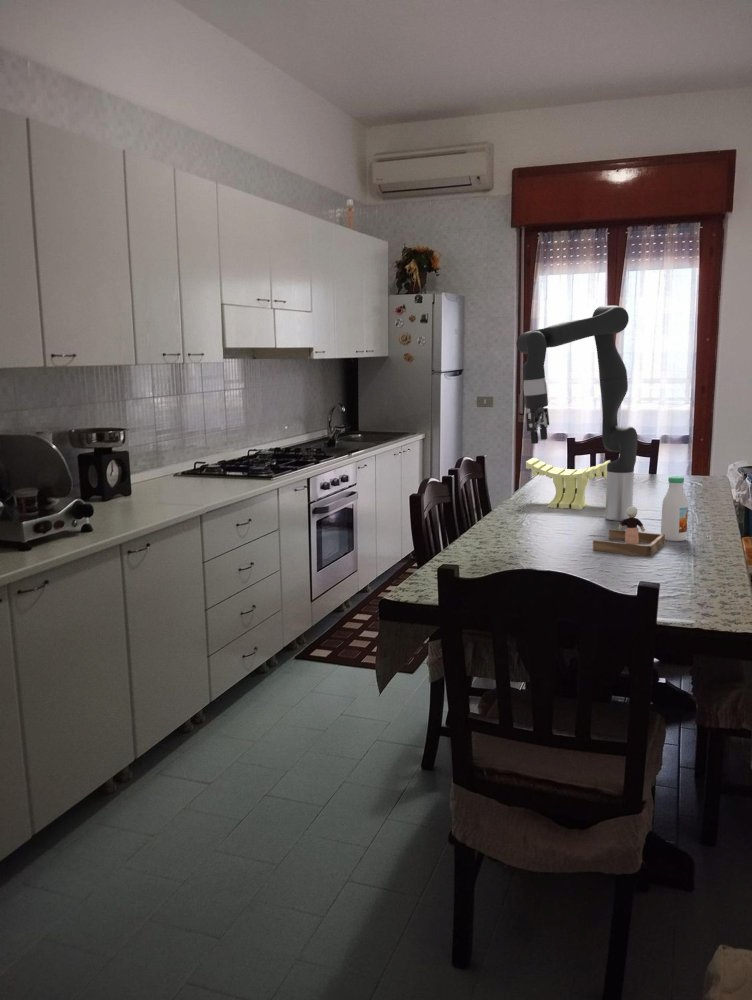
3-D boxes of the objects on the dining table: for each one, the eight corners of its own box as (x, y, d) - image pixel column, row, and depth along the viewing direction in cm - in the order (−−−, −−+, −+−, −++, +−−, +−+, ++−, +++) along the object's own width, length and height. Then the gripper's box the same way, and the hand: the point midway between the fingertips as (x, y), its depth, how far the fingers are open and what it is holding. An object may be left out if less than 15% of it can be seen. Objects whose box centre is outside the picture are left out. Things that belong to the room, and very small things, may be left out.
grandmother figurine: (641, 545, 246) (643, 505, 244) (644, 548, 242) (646, 507, 240) (616, 545, 247) (617, 505, 245) (618, 548, 243) (620, 507, 241)
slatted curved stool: (609, 503, 315) (610, 458, 312) (603, 510, 301) (605, 464, 298) (534, 499, 327) (535, 456, 324) (525, 506, 313) (525, 461, 310)
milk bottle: (670, 542, 249) (673, 479, 245) (655, 537, 256) (658, 476, 253) (691, 540, 251) (694, 478, 247) (676, 535, 258) (679, 474, 255)
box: (609, 538, 256) (610, 529, 256) (664, 543, 247) (664, 534, 247) (592, 550, 241) (593, 540, 241) (650, 556, 232) (650, 546, 232)
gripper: (538, 394, 255) (542, 444, 258) (553, 389, 266) (557, 437, 269) (516, 396, 259) (521, 445, 262) (532, 391, 270) (536, 438, 273)
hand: (539, 441), depth 265 cm, fingers open, 8 cm apart
